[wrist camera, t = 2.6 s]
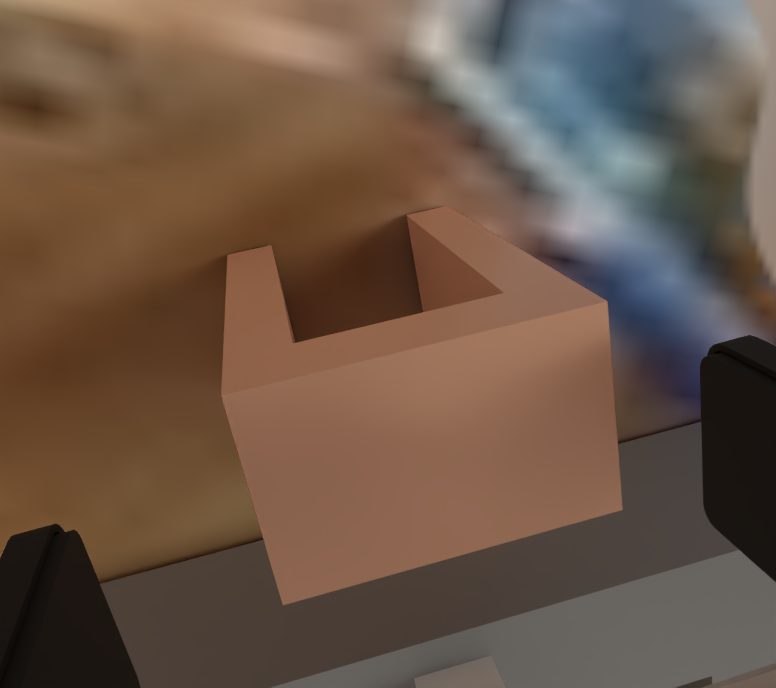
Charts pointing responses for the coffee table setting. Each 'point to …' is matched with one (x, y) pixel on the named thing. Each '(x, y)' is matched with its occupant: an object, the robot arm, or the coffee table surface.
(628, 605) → the grey rectangular frame
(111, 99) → the coffee table surface
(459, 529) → the clip
